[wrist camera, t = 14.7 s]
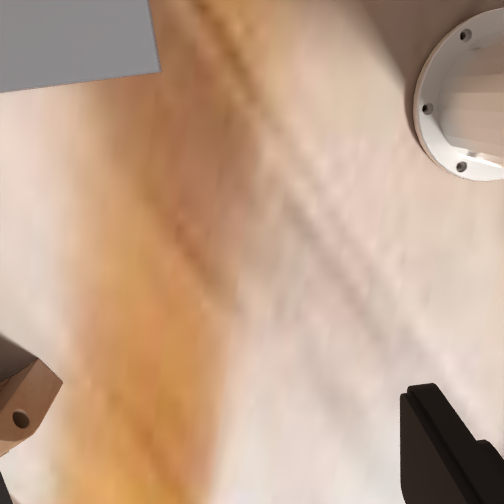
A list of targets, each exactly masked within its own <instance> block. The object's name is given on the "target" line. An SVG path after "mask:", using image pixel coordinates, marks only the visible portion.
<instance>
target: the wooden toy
mask: <svg viewBox="0 0 504 504" xmlns="http://www.w3.org/2000/svg"><path fill="white" fill-rule="evenodd" d="M62 384H63V382H62V381H61V380H60V379H59V378H58V377H57V376H56V375H55V374H54V373H53V372H52V371H51V370H50V369H49V368H48V367H47V366H46V365H45V364H44V363H43V362H42V361H41V360H40V359H37V360H36V361H34V362H33V363H31V364H30V365H28V366H27V367H25V368H24V369H22V370H21V371H19V372H18V373H16V374H15V375H14V376H12V377H8V378H7V379H5V380H4V381H3V382H1V383H0V457H1V456H3V455H4V454H6V453H8V452H9V450H10V449H12V448H13V447H15V446H16V445H18V444H19V443H21V442H22V441H24V440H26V439H27V438H28V437H30V436H31V435H33V434H34V433H35V431H36V430H37V429H38V427H39V426H40V424H41V422H42V420H43V419H44V417H45V415H46V413H47V411H48V410H49V408H50V406H51V404H52V402H53V401H54V399H55V397H56V395H57V393H58V391H59V390H60V388H61V386H62Z"/></svg>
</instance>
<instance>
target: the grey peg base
mask: <svg viewBox="0 0 504 504" xmlns="http://www.w3.org/2000/svg"><path fill="white" fill-rule="evenodd" d="M159 72H162V71H161V65H160V60H159V54H158V48H157V43H156V37H155V31H154V26H153V20H152V14H151V9H150V3H149V0H0V93H4V92H12V91H20V90H28V89H35V88H43V87H51V86H59V85H66V84H74V83H82V82H89V81H97V80H105V79H113V78H120V77H128V76H136V75H144V74H151V73H159Z"/></svg>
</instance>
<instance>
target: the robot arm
mask: <svg viewBox="0 0 504 504" xmlns="http://www.w3.org/2000/svg"><path fill="white" fill-rule="evenodd" d="M461 33H462V34H463V38H462V40H461V39H460V34H461ZM424 105H425V106H426V110H425V111H424V112H423V111H422V108H423V106H424ZM413 118H414V125H415V130H416V133H417V136H418V139H419V142H420V144H421V146H422V147H423V149H424V151H425V152H426V154H427V155H428V156H429V158H430V159H431V160H432V161H433V162H434V163H435V164H436V165H437V166H439V167H440V168H442V169H443V170H445V171H446V172H448V173H450V174H452V175H455V176H457V177H460V178H463V179H467V180H471V181H481V182H489V181H497V180H503V179H504V7H502V8H498V9H494V10H489V11H486V12H483V13H480V14H478V15H475V16H473V17H471V18H469V19H467V20H466V21H464V22H462V23H460V24H459V25H457V26H456V27H455V28H454V29H453V30H451V31H450V32H449V33H448V34H447V35H445V36H444V37H443V39H442V40H441V41H440V42H439V43H438V44H437V46H436V47H435V48H434V49H433V51H432V52H431V54H430V55H429V57H428V59H427V60H426V62H425V64H424V66H423V68H422V71H421V73H420V75H419V78H418V80H417V84H416V89H415V94H414V100H413ZM458 163H459V166H458V167H457V168H456V166H457V164H458ZM400 477H401V490H402V494H403V498H404V500H405V503H406V504H504V459H503V458H502V457H501V455H500V454H499V453H498V451H497V450H496V449H495V448H494V447H493V445H492V444H491V443H490V442H488V441H486V440H478V441H476V440H475V438H474V437H473V435H472V434H471V433H470V431H469V430H468V428H467V427H466V426H465V424H464V423H463V421H462V420H461V419H460V417H459V416H458V414H457V413H456V412H455V410H454V409H453V407H452V406H451V405H450V403H449V402H448V400H447V399H446V398H445V396H444V395H443V393H442V392H441V391H440V389H439V388H438V386H437V385H436V384H434V383H429V384H421V385H413V386H409V387H408V389H407V393H403V394H401V396H400ZM0 504H13V503H12V500H11V498H10V495H9V493H8V490H7V487H6V485H5V482H4V480H3V477H2V475H1V472H0Z"/></svg>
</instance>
